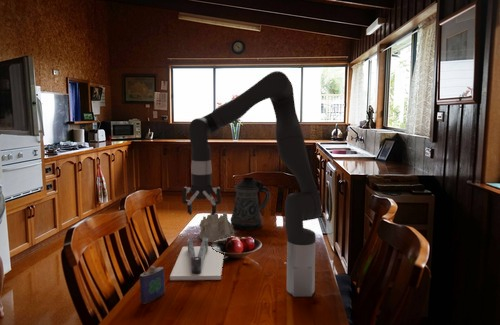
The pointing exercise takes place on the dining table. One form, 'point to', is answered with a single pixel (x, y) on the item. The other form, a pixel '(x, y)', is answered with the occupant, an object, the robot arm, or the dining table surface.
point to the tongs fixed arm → (199, 257)
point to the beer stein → (248, 205)
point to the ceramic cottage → (215, 227)
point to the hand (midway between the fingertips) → (202, 214)
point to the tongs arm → (191, 248)
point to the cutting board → (209, 269)
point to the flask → (152, 284)
